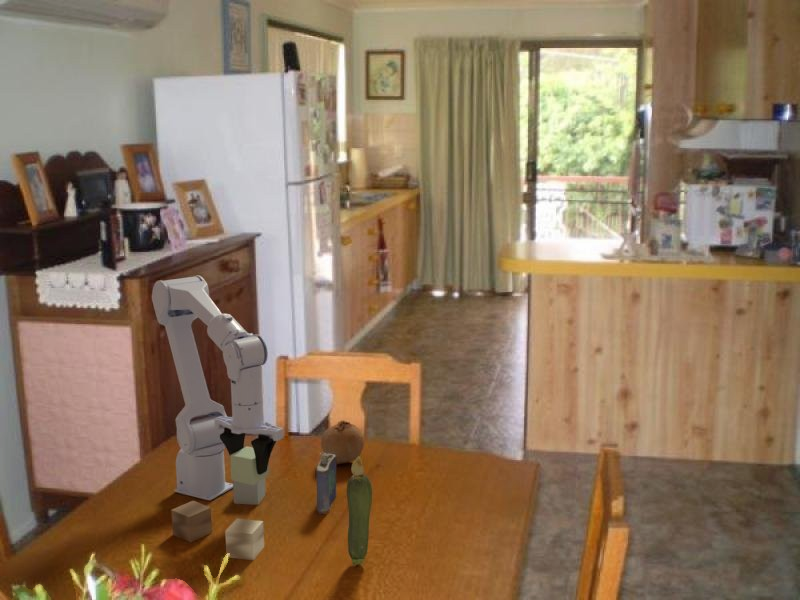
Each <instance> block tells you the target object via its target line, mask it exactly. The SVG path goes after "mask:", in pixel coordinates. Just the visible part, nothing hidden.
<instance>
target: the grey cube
mask: <svg viewBox="0 0 800 600" xmlns="http://www.w3.org/2000/svg"><path fill="white" fill-rule="evenodd" d="M232 484H233V488H232V494H233V504H241V505H257V506H258V505H259V504H260V503H261V502H262V500H263V499H264V497H265V495H266V478H264V479H262V480H261V481H259V482H257V483H256V484H254V485H250V484H246V483H241V482H237V481H233V480H232Z"/></svg>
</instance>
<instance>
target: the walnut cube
mask: <svg viewBox="0 0 800 600" xmlns="http://www.w3.org/2000/svg"><path fill="white" fill-rule="evenodd" d="M170 511H171V523H172V535H173V536H175V537H177V538H179V539H182V540H183V541H186V542H188V543H190V544H191V543H193V542H195V541H197V540H199V539H202V538H203V537H206V536H208V535H209V534H212V533H213V525H212V524H213V523H212V522H213V521H212V508H211V507H210V506H208V505H206V504H203V503H201V502H197V500H191V501H189V502H187V503H184V504H182V505H179V506H177V507H175V508H172V509H171V510H170Z"/></svg>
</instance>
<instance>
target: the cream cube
mask: <svg viewBox="0 0 800 600" xmlns="http://www.w3.org/2000/svg"><path fill="white" fill-rule="evenodd" d="M264 530H265V529H264V521H263V520H255V519H246V518H236V519H234V521H233V522H232V523H231V524H230V526H228V527H227V528H226V530H225V532H224V533H225V535H224V536H225V551H226V552H225V553H226V554H227V553H230V557H229V558H231V559H240V560H247V561H248V560H249V561H254V560H255V559H256V558H257V557H258V555H259V554H260V553H261V551H263V549H264V548H265V531H264Z"/></svg>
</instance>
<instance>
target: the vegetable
mask: <svg viewBox="0 0 800 600" xmlns="http://www.w3.org/2000/svg"><path fill="white" fill-rule="evenodd" d="M351 473H352V476H351V477H349V479H348V481H347V484H346V498H347V499H346V500H347V507H348V529H347V530H348V531H347V550H348V555H349V557H350V559H351V563H352V566H353V567H356V565H362V564H364V563H365V557H366V556H367V554H368V548H369V547H368V546H369V536H370V514H371V509H372V505H373V502H372V501H373V487H372V482H371V479H370V478H369V477H368V476H367V475H366V474H364V473H365V468H364V464H363V456H362V455H360V456H358V457H357V458H356V459H355V460H353V462H352V464H351Z"/></svg>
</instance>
